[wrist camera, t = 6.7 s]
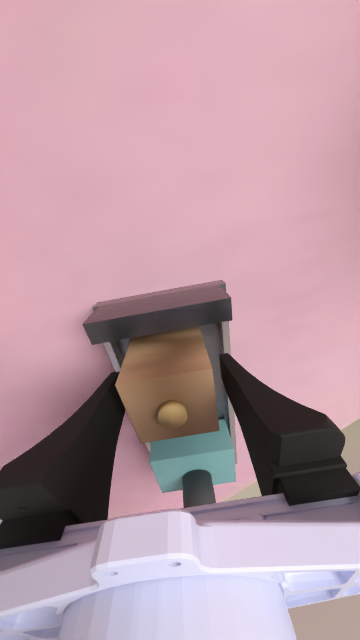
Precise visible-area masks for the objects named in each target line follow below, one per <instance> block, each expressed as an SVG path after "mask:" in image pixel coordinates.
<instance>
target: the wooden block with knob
mask: <svg viewBox="0 0 360 640" xmlns="http://www.w3.org/2000/svg"><path fill="white" fill-rule="evenodd" d="M115 386H116V388H117V391H118V393H119V395H120V397H121V400H122V402H123V404H124V407H125V409H126V411H127V413H128V416H129V418H130V420H131V423H132V425H133V427H134V430H135V432H136V434H137V436H138V439H139V441H140V443H147V442H153V441H160V440H166V439H172V438H178V437H184V436H191V435H197V434H203V433H209V432H215V431H220V430H219V421H218V413H217V404H216V396H215V387H214V379H213V371H212V366H211V363H210V360H209V357H208V354H207V350H206V347H205V344H204V341H203V338H202V335H201V331H200V328H199V326H197V327H191V328H185V329H179V330H174V331H168V332H162V333H157V334H151V335H145V336H140V337H134V338H131V341H130V344H129V347H128V350H127V352H126V355H125V358H124V361H123V364H122V367H121V370H120V373H119V375H118V378H117V381H116V384H115Z"/></svg>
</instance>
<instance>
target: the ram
mask: <svg viewBox="0 0 360 640" xmlns="http://www.w3.org/2000/svg"><path fill="white" fill-rule="evenodd" d="M218 421H219V430H220V431H215V432H209V433H203V434H197V435H191V436H184V437H178V438H172V439H166V440H160V441H153V442H151V447H150V458H149V463H150V465H151V467H152V470H153V472H154V474H155V477H156V479H157V481H158V484H159V486H160V488H161V490H162V493H164V492H171V491H177V490H183V503H184V508H188V507H195V506H201V505H208V504H214V503H216V500H215V494H214V488H213V485H216V484H223V483H229V482H236V472H235V458H234V447H233V444H232V441H231V437H230V434H229V431H228V427H227V424H226V421H225V419H222V420H218Z"/></svg>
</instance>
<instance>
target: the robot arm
mask: <svg viewBox="0 0 360 640" xmlns="http://www.w3.org/2000/svg"><path fill="white" fill-rule="evenodd" d="M219 359H220V370H221V378H222V381H223V384H224V388H225V390H226V393H227V395H228V398H229V400H230V402H231V405H232V407H233V409H234V412H235V414H236V416H237V418H238V421H239V424H240V426H241V429H242V433H243V436H244V439H245V442H246V445H247V448H248V451H249V454H250V458H251V461H252V464H253V467H254V471H255V474H256V477H257V481H258V484H259V488H260V491H261V494H262V496H260V497H254V498H247V499H241V500H234V501H228V502H221V503H214V504H208V505H201V506H195V507H188V508H181V509H167V510H161V511H154V512H147V513H141V514H134V515H128V516H121V517H116V518H112V519H109V520H107V518H108V507H109V496H110V487H111V479H112V471H113V464H114V458H115V451H116V445H117V441H118V436H119V433H120V429H121V425H122V421H123V417H124V413H125V407H124V404H123V402H122V400H121V397H120V395H119V393H118V391H117V388H116V386H115V384H116V381H117V378H118V375H119V373H120V371H119V372H113V373H111V374H110V375H109V376H108V377H107V378H106V380H105V381H104V382H103V383H102V384H101V385H100V387H99V388H98V389H97V390H96V391H95V392H94V393H93V395H92V396H91V397H90V398H89V399H88V400H87V401H86V402H85V403H84V404H83V405H82V406H81V407H80V408H79V409H78V410H77V411H76V412H75V413H74V414H73V415H72V416H71V417H70V418H69V419H68V420H67V421H65V422H64V423H63V424H62V425H61V426H59V427H58V428H57V429H56V430H55V431H53V432H52V433H51V434H50V435H48V436H47V437H46V438H44V439H43V440H42V441H40V442H39V443H38V444H36V445H35V446H34V447H32V448H31V449H29V450H28V451H26V452H25V453H23V454H22V455H20V456H19V457H17V458H16V459H14V460H13V461H11V462H10V463H8V464H6V465H5V466H3V468H2V469H1V470H0V640H297V638H296V635H295V632H294V629H293V625H292V622H291V619H290V616H289V613H288V609H289V608H294V607H299V606H303V605H308V604H313V603H318V602H323V601H328V600H332V599H337V598H342V597H347V596H352V595H356V594H360V472H358V473H355V474H354V475H352V476H351V475H350V473H349V472H348V470H347V469H346V467H347V465H346V463H345V461H344V460H343V459H342V457H341V453H342V450H343V447H344V444H345V436H344V434H343V433H342V432H341V431H340V429H339V428H338V427H337V426H336V425H335V424H334V423H333V422H332V421H331V420H330V419H329V418H328V417H327V416H326V415H325V414H323V413H321V412H318V411H316V410H313V409H311V408H308V407H306V406H303V405H301V404H299V403H297V402H295V401H293V400H291V399H289V398H287V397H285V396H283V395H281V394H280V393H278V392H276V391H274V390H273V389H271V388H269V387H268V386H266V385H265V384H263V383H262V382H261V381H259V380H258V379H257V378H255V377H254V376H253V375H251V374H250V373H249V372H248V371H247V370H245V369H244V368H243V367H242V366H241V365H240V364H239V363H238V362H237V361H236V360H235V359H234V358H233V357H232V356H231V355H230V354H228V353H224V354H219Z"/></svg>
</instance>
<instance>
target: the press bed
mask: <svg viewBox="0 0 360 640" xmlns="http://www.w3.org/2000/svg"><path fill="white" fill-rule="evenodd" d="M93 309H94V313H93V314H92V315H91V316H90V317H89V318H88V319H87V320H86V321H85V322H84V323H83V326H84V328H85V330H86V333H87V335H88V337H89V339H90V342H91V344H92V345H94V344H100V343H104V346H105V348H106V350H107V353H108V355H109V358H110V360H111V362H112V365H113V367H114V370H115V372H119V371H120V370H121V367H122V364H123V361H124V358H125V355H126V352H127V350H128V347H129V344H130V341H131V338H134V337H140V336H145V335H151V334H157V333H162V332H168V331H174V330H179V329H185V328H191V327H197V326H199V328H200V331H201V335H202V338H203V341H204V344H205V347H206V350H207V354H208V357H209V360H210V363H211V366H212V371H213V379H214V387H215V396H216V404H217V413H218V420H222V419H225V421H226V424H227V427H228V431H229V434H230V437H231V441H232V444H233V447H234V458H235V464H237V453H236V436H235V420H234V409H233V407H232V405H231V402H230V400H229V398H228V395H227V393H226V390H225V388H224V384H223V381H222V378H221V370H220V359H219V354H224V353H228V354H230V355H231V353H230V336H229V321H231V320H232V307H231V297H230V296H229V295H228V294H227V293H226V284H225V282H223V281H222V280H220V281H214V282H209V283H203V284H198V285H192V286H186V287H181V288H175V289H170V290H164V291H159V292H153V293H148V294H142V295H137V296H131V297H126V298H120V299H115V300H109V301H104V302H98V303H97V304H96V305H95V306H94V307H93ZM145 444H146V446H147V449H148V451H149V454H150V447H151V442H147V443H145Z"/></svg>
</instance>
